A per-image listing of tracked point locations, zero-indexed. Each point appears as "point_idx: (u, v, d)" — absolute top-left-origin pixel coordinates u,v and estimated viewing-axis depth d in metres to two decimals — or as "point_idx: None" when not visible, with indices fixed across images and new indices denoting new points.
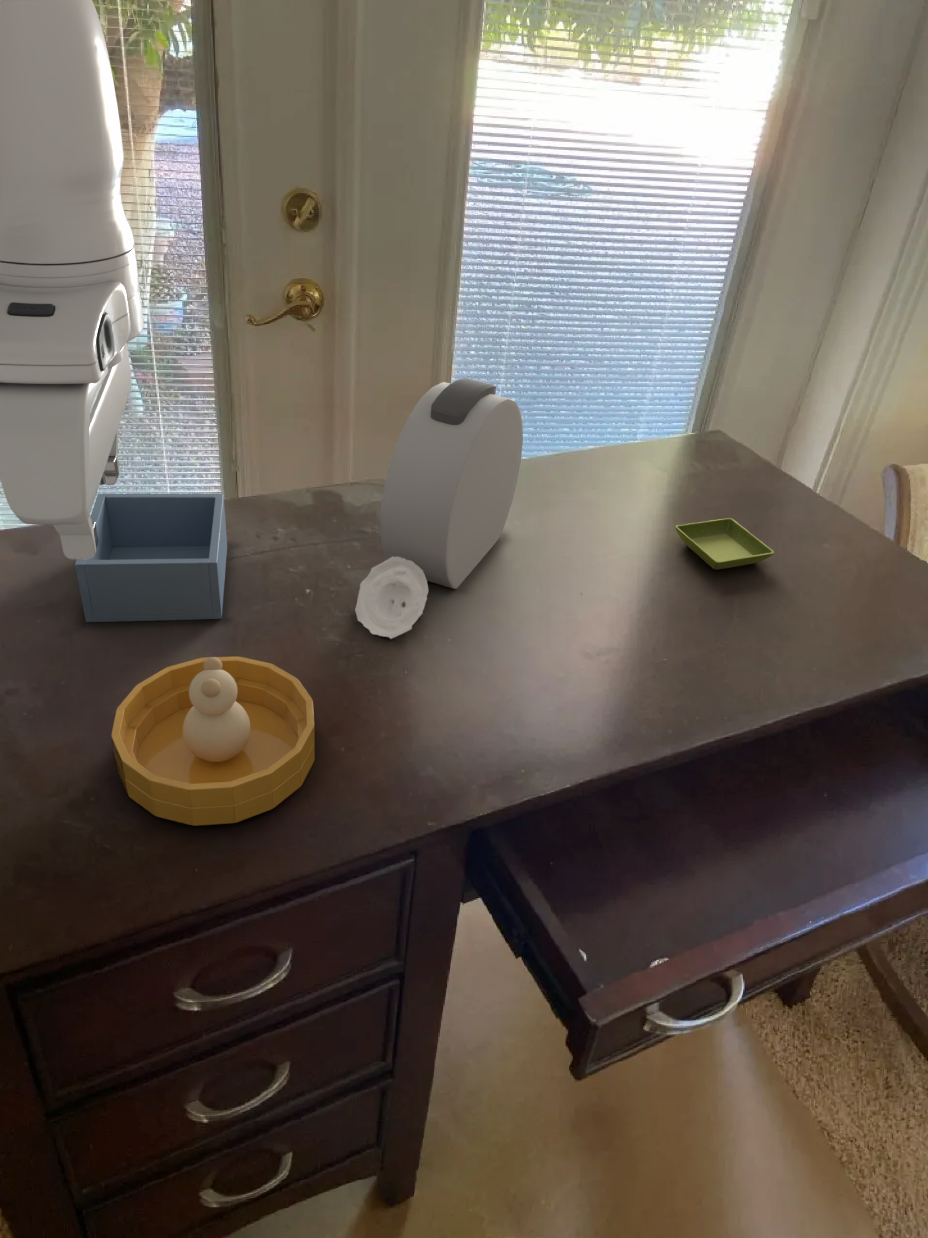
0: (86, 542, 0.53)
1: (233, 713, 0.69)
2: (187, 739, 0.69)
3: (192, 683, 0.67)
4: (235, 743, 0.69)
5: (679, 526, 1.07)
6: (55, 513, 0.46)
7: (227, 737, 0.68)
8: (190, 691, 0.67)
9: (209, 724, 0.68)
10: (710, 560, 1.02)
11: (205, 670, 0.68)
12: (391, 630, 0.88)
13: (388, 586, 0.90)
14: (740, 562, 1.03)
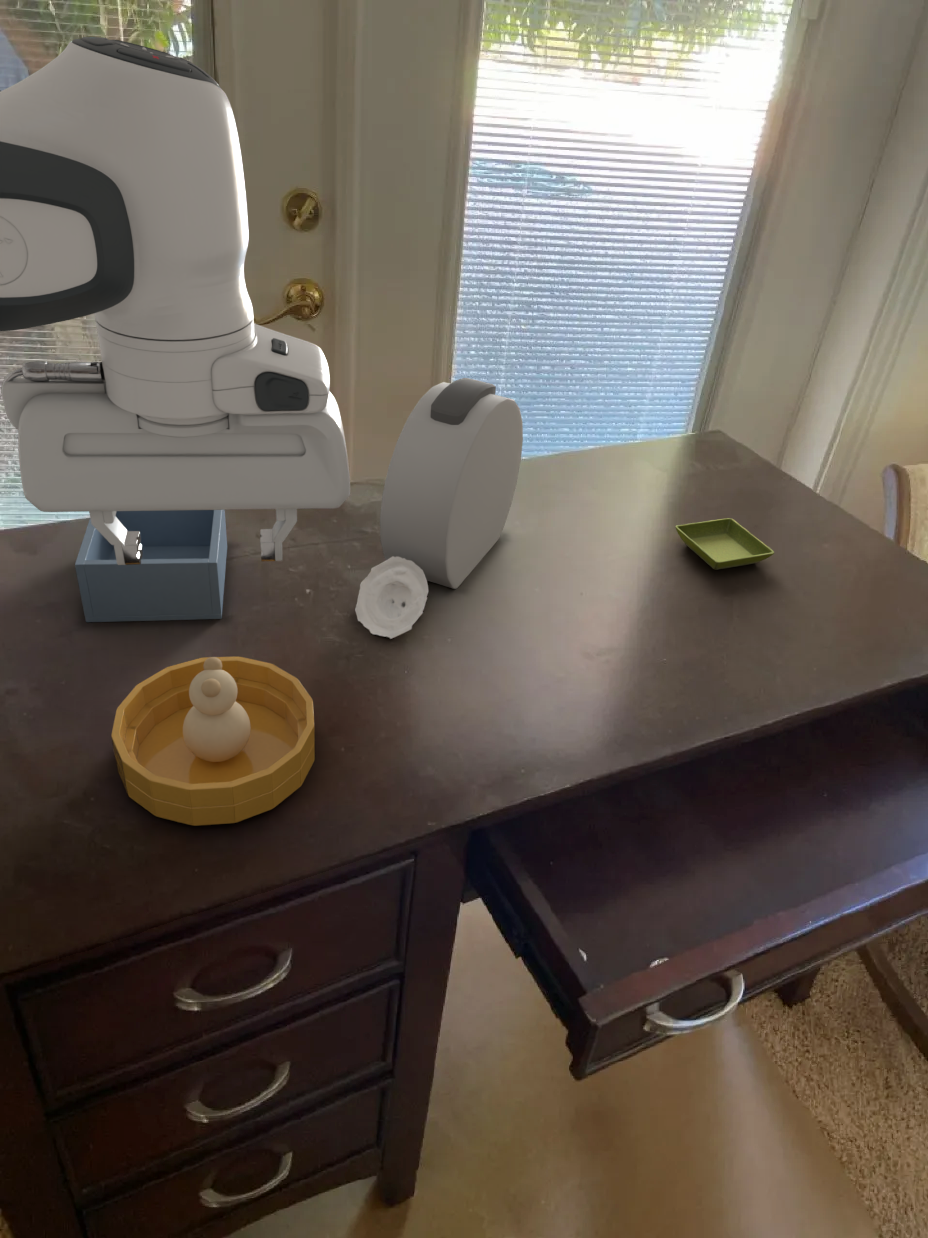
0: None
1: (233, 713, 0.69)
2: (187, 739, 0.69)
3: (192, 683, 0.67)
4: (235, 743, 0.69)
5: (679, 526, 1.07)
6: None
7: (227, 737, 0.68)
8: (190, 691, 0.67)
9: (209, 724, 0.68)
10: (710, 560, 1.02)
11: (205, 670, 0.68)
12: (391, 630, 0.88)
13: (388, 586, 0.90)
14: (740, 562, 1.03)
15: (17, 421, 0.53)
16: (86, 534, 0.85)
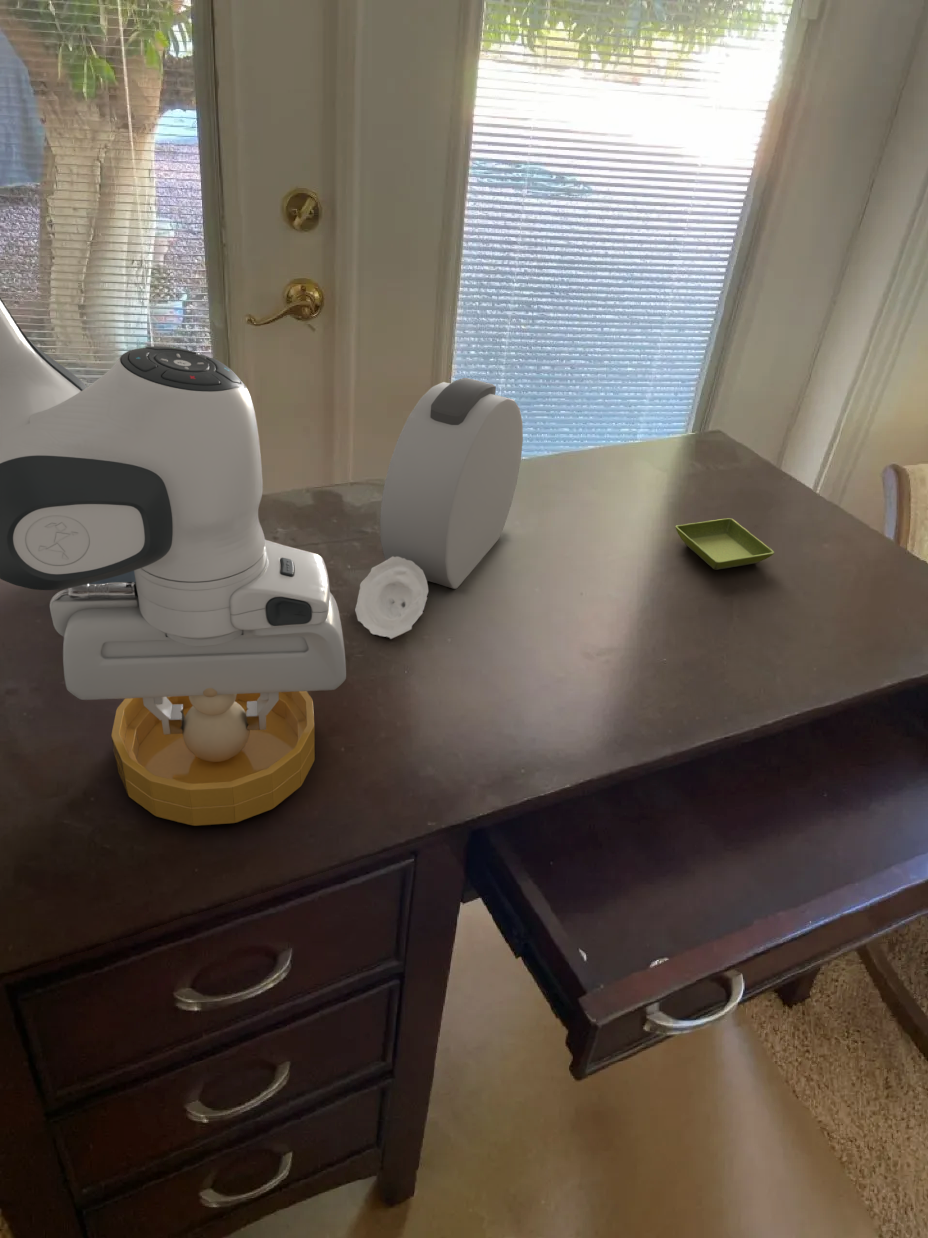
0: None
1: (232, 713, 0.69)
2: (186, 739, 0.69)
3: None
4: (234, 743, 0.69)
5: (679, 526, 1.07)
6: None
7: (227, 737, 0.68)
8: None
9: (209, 724, 0.68)
10: (710, 560, 1.02)
11: None
12: (391, 630, 0.88)
13: (388, 586, 0.90)
14: (740, 562, 1.03)
15: (62, 630, 0.62)
16: None
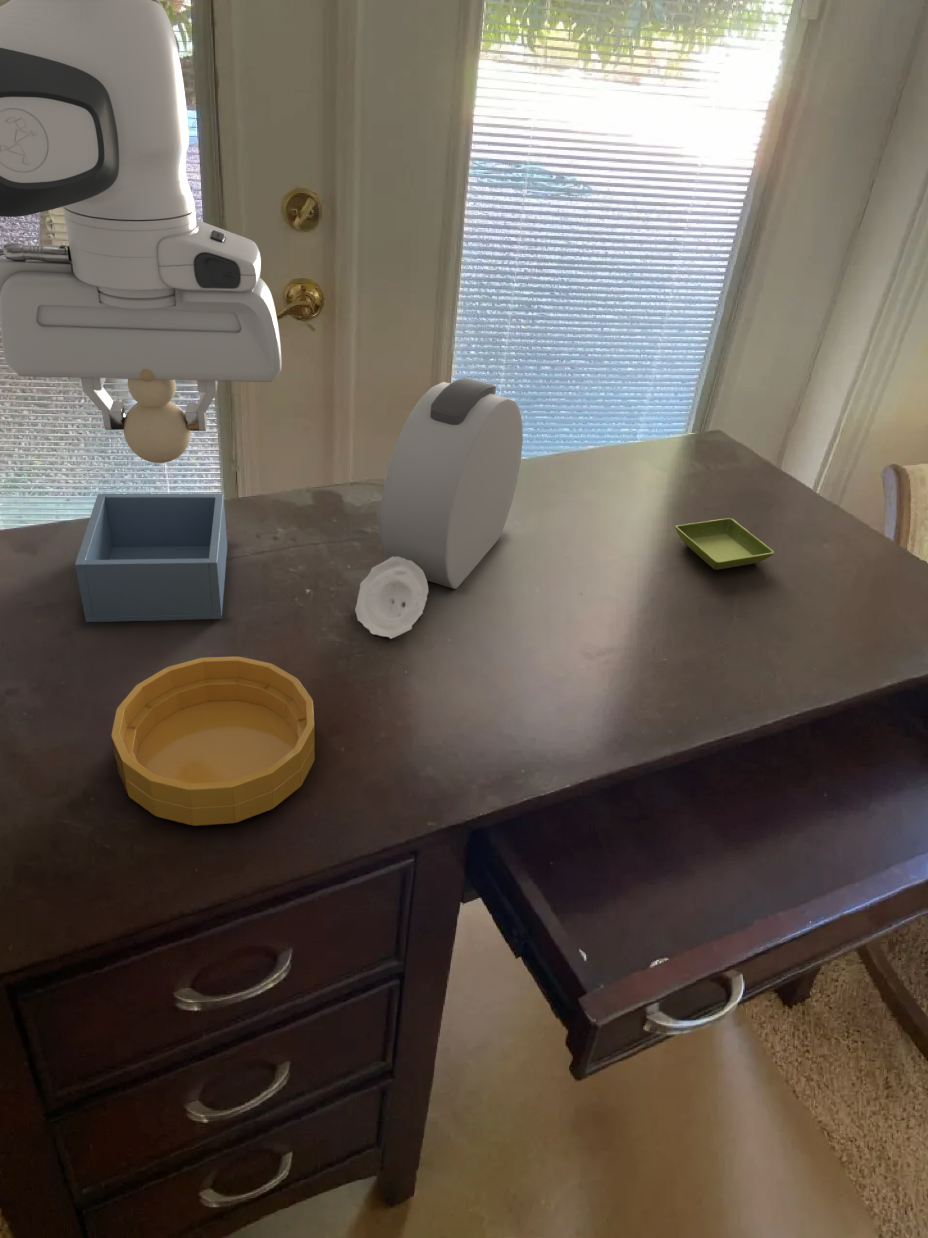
0: (205, 412, 0.72)
1: (172, 409, 0.71)
2: (127, 433, 0.71)
3: None
4: (173, 437, 0.71)
5: (679, 526, 1.07)
6: None
7: (165, 429, 0.70)
8: (128, 379, 0.69)
9: (148, 415, 0.70)
10: (710, 560, 1.02)
11: None
12: (391, 630, 0.88)
13: (388, 586, 0.90)
14: (740, 562, 1.03)
15: None
16: (86, 534, 0.85)
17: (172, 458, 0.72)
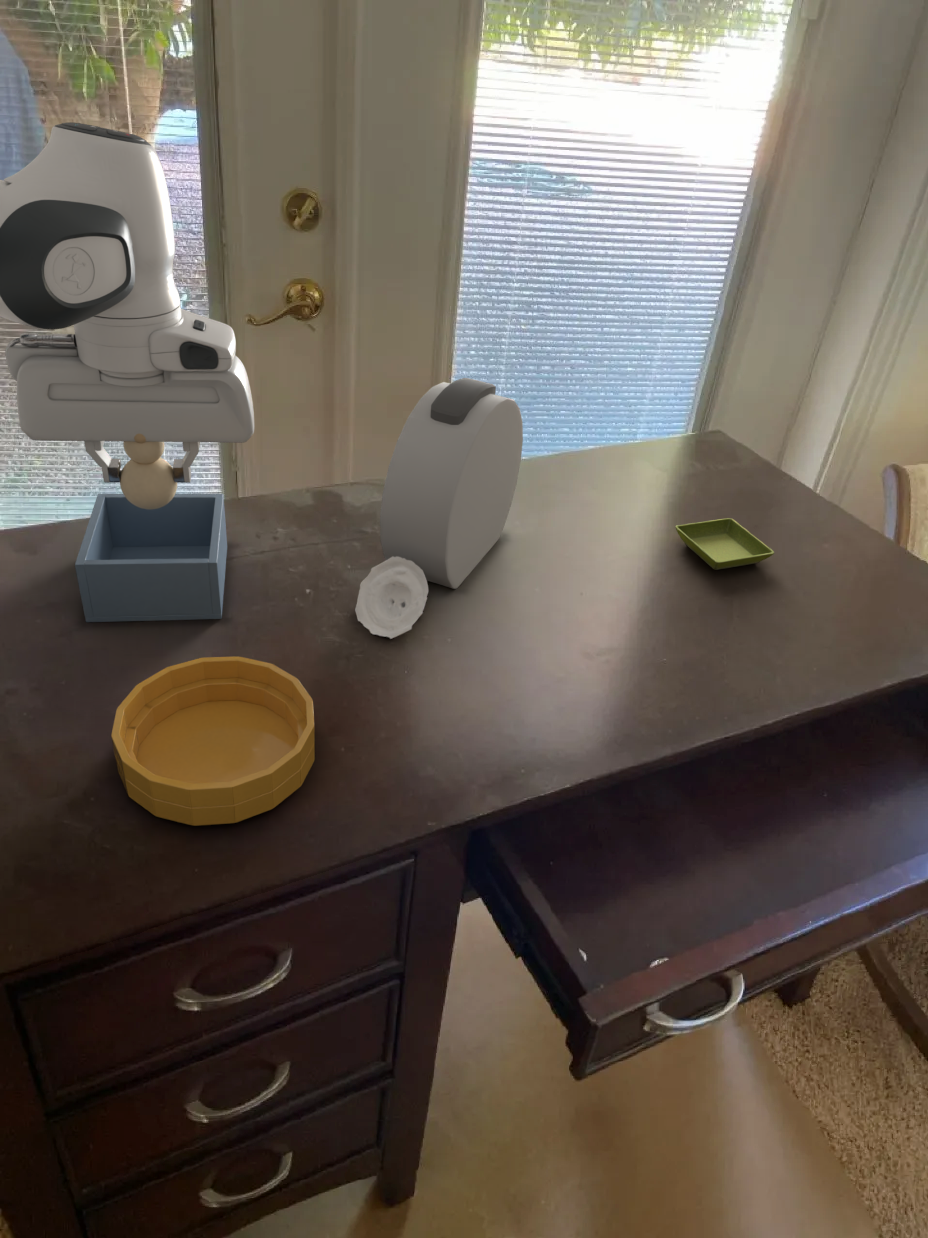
0: (190, 466, 0.85)
1: (161, 465, 0.83)
2: (123, 485, 0.83)
3: None
4: (162, 488, 0.83)
5: (679, 526, 1.07)
6: None
7: (156, 482, 0.83)
8: (124, 441, 0.82)
9: (140, 471, 0.82)
10: (710, 560, 1.02)
11: None
12: (391, 630, 0.88)
13: (388, 586, 0.90)
14: (740, 562, 1.03)
15: (16, 375, 0.77)
16: (86, 534, 0.85)
17: (161, 505, 0.85)
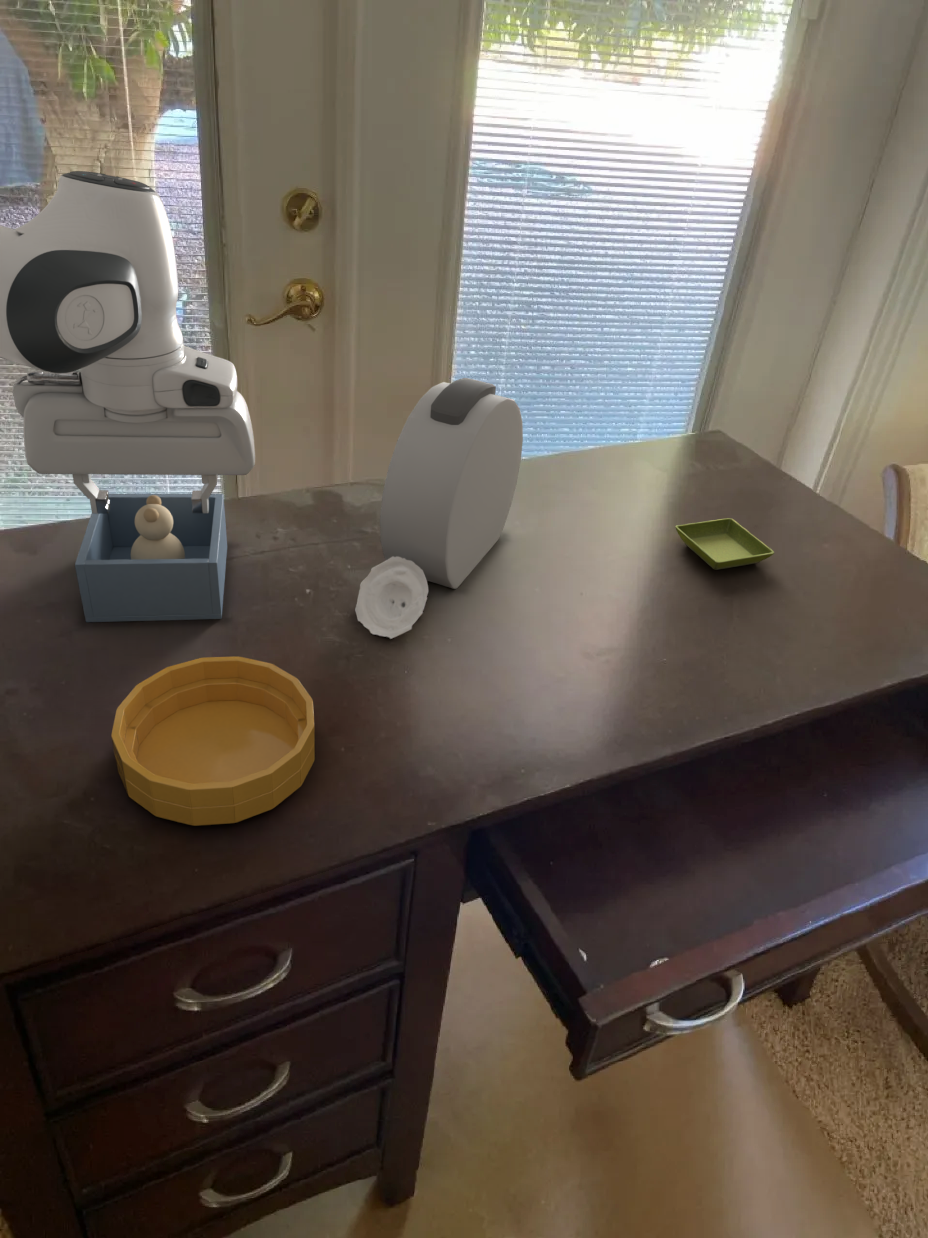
0: None
1: (170, 540, 0.88)
2: None
3: (137, 513, 0.86)
4: None
5: (679, 526, 1.07)
6: None
7: (165, 558, 0.88)
8: (135, 519, 0.86)
9: (151, 547, 0.87)
10: (710, 560, 1.02)
11: (147, 504, 0.87)
12: (391, 630, 0.88)
13: (388, 586, 0.90)
14: (740, 562, 1.03)
15: (22, 411, 0.79)
16: (86, 534, 0.85)
17: None
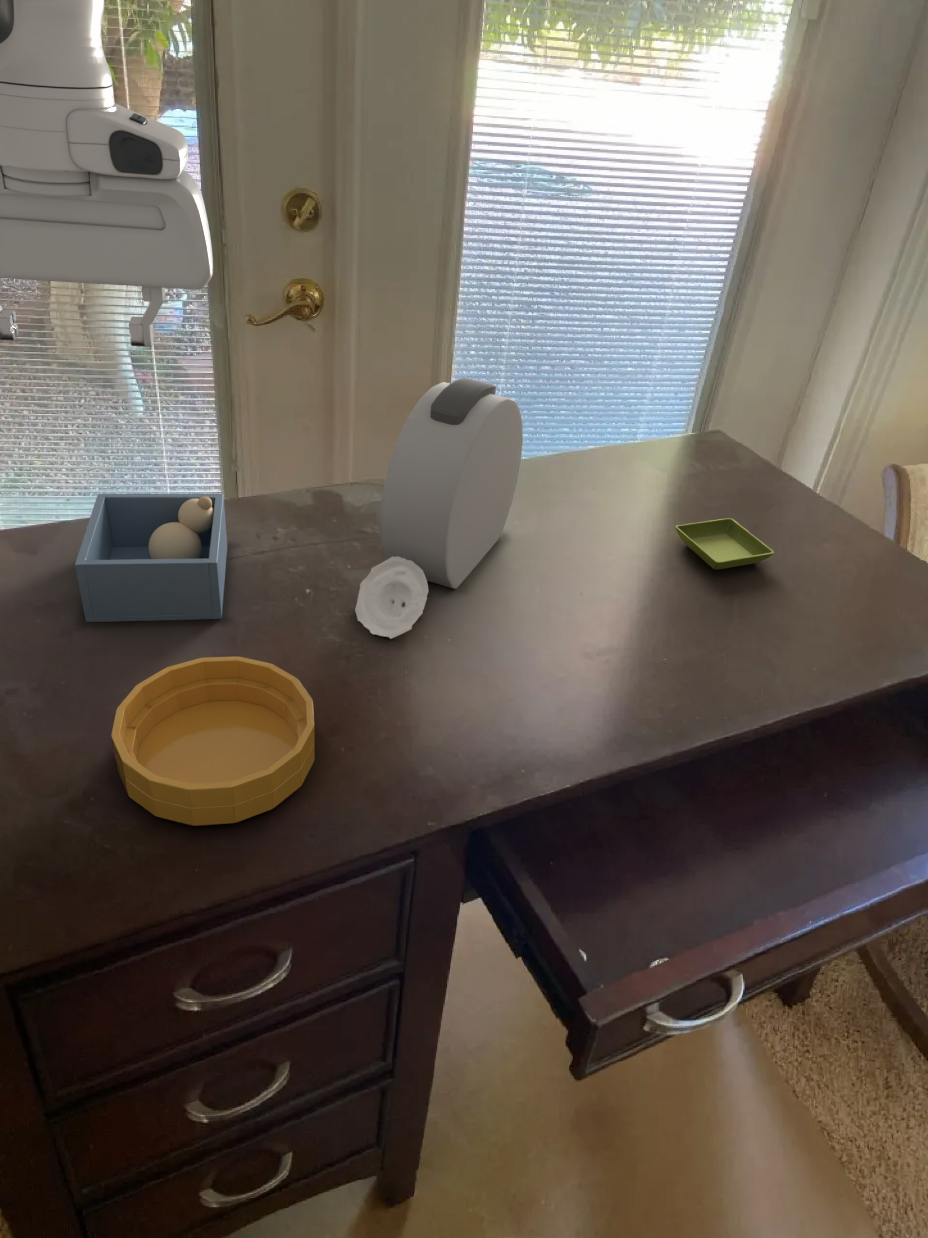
0: (152, 326, 0.66)
1: (199, 538, 0.91)
2: (158, 532, 0.89)
3: None
4: (190, 552, 0.90)
5: (679, 526, 1.07)
6: (212, 267, 0.65)
7: (189, 543, 0.90)
8: (185, 502, 0.91)
9: (183, 529, 0.90)
10: (710, 560, 1.02)
11: None
12: (391, 630, 0.88)
13: (388, 586, 0.90)
14: (740, 562, 1.03)
15: None
16: (86, 534, 0.85)
17: None
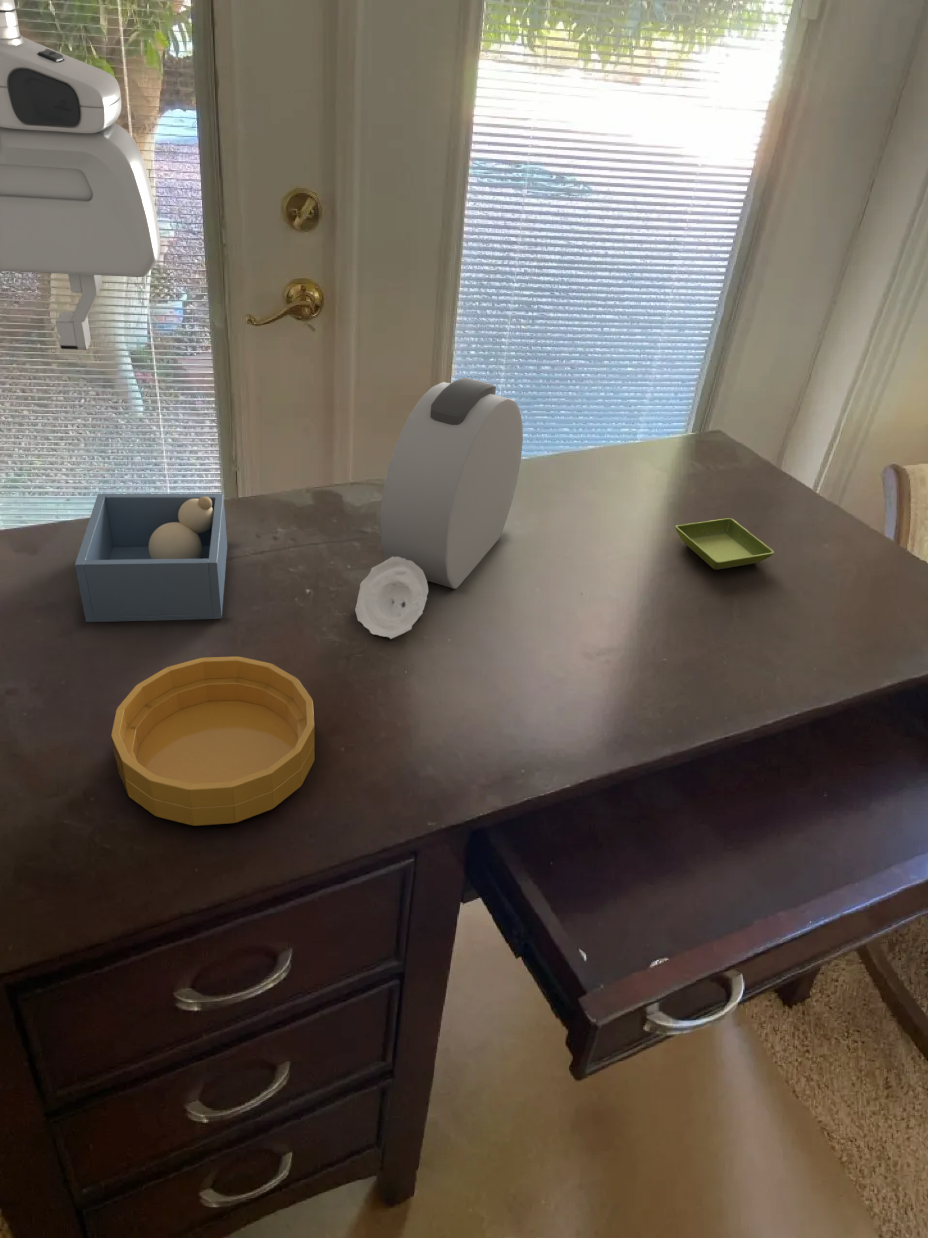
0: (87, 324, 0.53)
1: (199, 538, 0.91)
2: (158, 532, 0.89)
3: None
4: (190, 552, 0.90)
5: (679, 526, 1.07)
6: (159, 249, 0.51)
7: (189, 543, 0.90)
8: (185, 502, 0.91)
9: (183, 529, 0.90)
10: (710, 560, 1.02)
11: None
12: (391, 630, 0.88)
13: (388, 586, 0.90)
14: (740, 562, 1.03)
15: None
16: (86, 534, 0.85)
17: None
